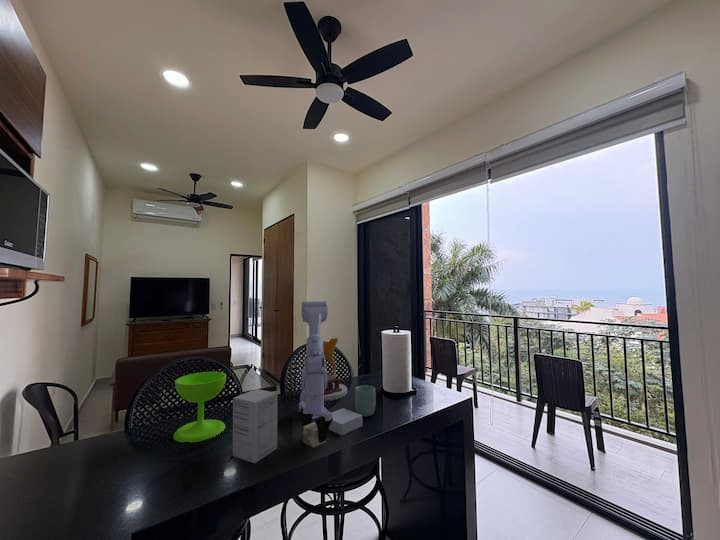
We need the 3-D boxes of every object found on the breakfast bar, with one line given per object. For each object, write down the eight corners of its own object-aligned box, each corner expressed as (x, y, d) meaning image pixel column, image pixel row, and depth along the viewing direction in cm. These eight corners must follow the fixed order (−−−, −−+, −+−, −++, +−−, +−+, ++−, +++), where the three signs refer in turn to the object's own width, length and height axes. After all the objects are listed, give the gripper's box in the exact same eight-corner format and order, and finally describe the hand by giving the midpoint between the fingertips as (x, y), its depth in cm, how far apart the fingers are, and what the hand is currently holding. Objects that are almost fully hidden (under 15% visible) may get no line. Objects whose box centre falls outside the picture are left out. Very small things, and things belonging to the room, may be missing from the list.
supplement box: (256, 442, 100) (256, 388, 101) (278, 448, 96) (278, 392, 97) (231, 456, 92) (232, 397, 93) (254, 464, 87) (255, 402, 88)
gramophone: (331, 384, 161) (331, 334, 163) (356, 394, 146) (355, 339, 147) (295, 392, 148) (295, 339, 150) (318, 404, 132) (318, 344, 134)
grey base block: (322, 427, 111) (322, 416, 111) (343, 419, 118) (343, 408, 118) (341, 436, 104) (341, 424, 104) (362, 426, 111) (362, 415, 112)
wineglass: (204, 444, 98) (206, 386, 100) (161, 440, 102) (163, 383, 103) (234, 423, 114) (235, 372, 115) (196, 420, 117) (197, 371, 118)
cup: (367, 420, 116) (367, 392, 116) (351, 415, 120) (351, 388, 121) (379, 413, 122) (379, 387, 123) (363, 409, 127) (363, 384, 127)
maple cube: (303, 442, 100) (303, 426, 100) (315, 437, 103) (315, 421, 103) (313, 448, 96) (313, 431, 96) (325, 442, 100) (325, 426, 100)
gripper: (291, 391, 103) (290, 434, 102) (319, 402, 93) (319, 450, 92) (308, 386, 108) (308, 427, 107) (337, 396, 98) (337, 441, 97)
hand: (314, 437), depth 100 cm, fingers open, 7 cm apart
